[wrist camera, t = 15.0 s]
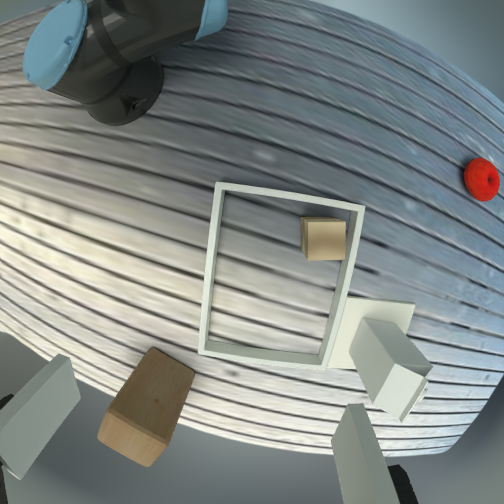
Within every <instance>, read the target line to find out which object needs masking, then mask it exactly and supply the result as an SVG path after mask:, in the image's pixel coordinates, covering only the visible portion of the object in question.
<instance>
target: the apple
mask: <svg viewBox="0 0 504 504" xmlns="http://www.w3.org/2000/svg"><path fill="white" fill-rule="evenodd" d="M464 181H465V185H466V187H467V189H468V190H469V192H470V193H471V195H472V196H473V197H474V198H475V199H477V200H479V201H488V200H491V199H492V198H493V197H494V196H495V195H496V194H497V192H498V189H499V185H500V179H499V175H498V172H497V170H496V168H495V166H494V165H493V164H492V163H491V162H489V161H487V160H485V159H483V158H476V159H473V160H471V161H470V162H469V163H468V165H467V166H466V168H465V171H464Z"/></svg>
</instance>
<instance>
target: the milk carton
mask: <svg viewBox="0 0 504 504" xmlns="http://www.w3.org/2000/svg"><path fill="white" fill-rule="evenodd" d="M349 354H350V356H351V358H352V360H353V363H354V365H355V367H356V369H357V371H358V373H359V375H360V377H361V380H362V382H363V384H364V386H365V388H366V390H367V393H368V395H369V397H370V399H371V402H372V404H373V405H374V406H376V407H378V408H380V409H382V410H384V411H386V412H388V413H390V414H392V415H393V416H395V417H397V418H399V419H400V421H401V423H403V422H404V420H405V419H406V417H407V416H408V414H409V413H410V411H411V410H412V408H413V407H414V405H415V403H416V402H419V403H420V402H421V401H422V399H423V398H424V396H425V395H426V393H427V391H428V389H427V388H425V387H426V385H427V384H428V381H427V377H428V376H429V374H430V372H431V370H432V368H433V366H432V365H431V364H430V362H429V361H428V360H427V359H426V358H425V357H424V355H423V354H422V353H421V352H420V351H419V350H418V348H417V347H416V346H415V345H414V344H413V343H412V342H411V341H410V339H409V338H408V337H407V336H406V335H405V334H404V333H403V332H402V330H401V329H400V328H399V327H398V326H397V325H396V324H394V323H389V322H383V321H378V320H373V319H367V318H362V320H361V322H360V325H359V327H358V330H357V332H356V335H355V337H354V340H353V342H352V344H351V347H350V349H349Z"/></svg>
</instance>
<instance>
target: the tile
mask: <svg viewBox="0 0 504 504" xmlns="http://www.w3.org/2000/svg"><path fill="white" fill-rule="evenodd" d="M414 309H415V304H414V303H408V302H399V301H390V300H381V299H372V298H364V297H355V296H347V298H346V302H345V305H344V309H343V313H342V317H341V320H340V324H339V328H338V331H337V335H336V338H335V341H334V345H333V348H332V351H331V355H330V358H329V361H328V364H327V368H343V369H356V367H355V365H354V363H353V360H352V358H351V356H350V354H349V349H350V347H351V344H352V342H353V340H354V337H355V335H356V332H357V330H358V327H359V325H360V322H361V320H362V318H367V319H373V320H378V321H383V322H389V323H394V324H396V325H397V326H398V327H399V328H400V329H401V330H402V332H403V333H404V334H405V335H406V333H407V330H408V327H409V324H410V321H411V318H412V315H413V312H414Z"/></svg>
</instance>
